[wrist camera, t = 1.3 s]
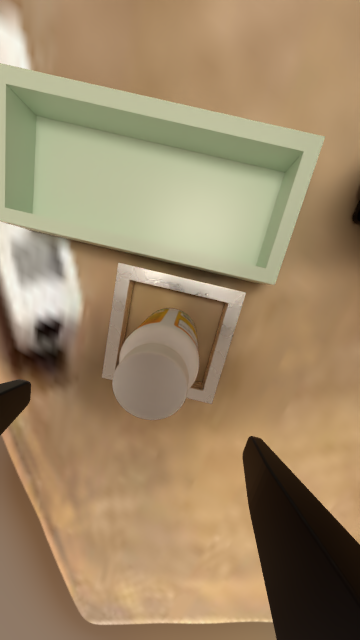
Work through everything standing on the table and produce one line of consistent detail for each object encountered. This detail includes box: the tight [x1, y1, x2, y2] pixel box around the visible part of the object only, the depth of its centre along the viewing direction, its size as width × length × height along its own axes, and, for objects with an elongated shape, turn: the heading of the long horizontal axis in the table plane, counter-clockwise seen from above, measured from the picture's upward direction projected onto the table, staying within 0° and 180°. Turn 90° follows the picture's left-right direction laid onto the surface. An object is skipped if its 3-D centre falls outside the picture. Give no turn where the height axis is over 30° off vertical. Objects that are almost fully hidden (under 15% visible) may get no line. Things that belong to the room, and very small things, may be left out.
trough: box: [0, 63, 325, 285], centre depth 15 cm, size 22×10×4 cm, turn 77°
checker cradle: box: [102, 263, 246, 404], centre depth 18 cm, size 11×11×2 cm
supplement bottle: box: [112, 308, 199, 420], centre depth 14 cm, size 5×5×10 cm
